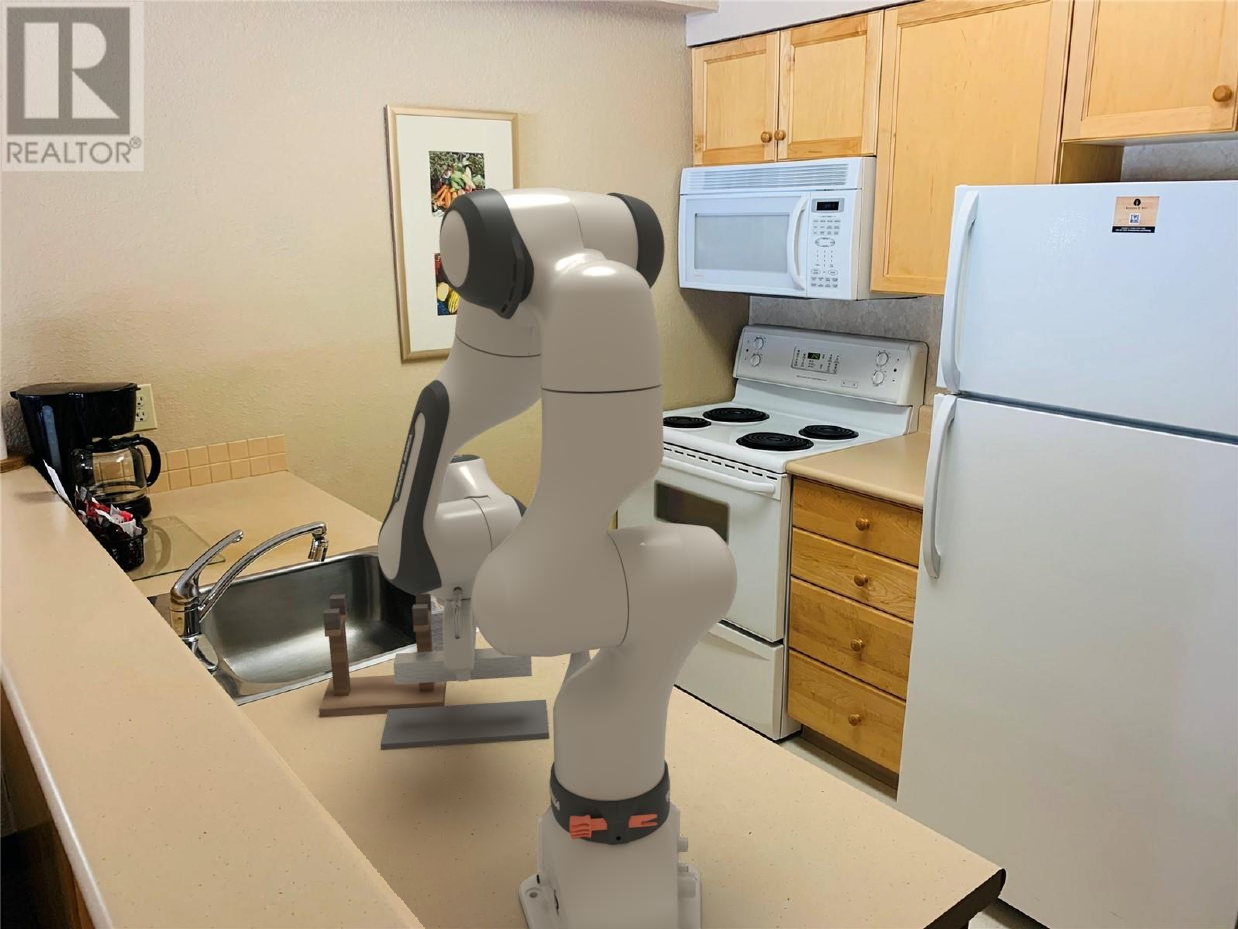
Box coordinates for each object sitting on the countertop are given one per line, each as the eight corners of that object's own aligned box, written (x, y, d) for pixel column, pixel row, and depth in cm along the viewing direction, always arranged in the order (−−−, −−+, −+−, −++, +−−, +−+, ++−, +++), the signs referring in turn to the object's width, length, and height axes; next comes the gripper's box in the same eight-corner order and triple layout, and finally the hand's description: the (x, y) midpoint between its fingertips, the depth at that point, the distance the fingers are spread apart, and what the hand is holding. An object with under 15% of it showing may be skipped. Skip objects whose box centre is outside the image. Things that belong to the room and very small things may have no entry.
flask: (600, 718, 133) (599, 652, 130) (549, 713, 134) (547, 647, 131) (611, 693, 139) (610, 630, 137) (563, 688, 141) (561, 625, 138)
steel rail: (531, 676, 128) (531, 655, 127) (395, 684, 126) (393, 663, 125) (531, 665, 131) (530, 645, 130) (397, 673, 129) (396, 653, 128)
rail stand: (443, 709, 135) (437, 611, 131) (319, 717, 133) (309, 617, 129) (446, 679, 144) (441, 586, 140) (330, 686, 142) (322, 592, 138)
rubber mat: (549, 738, 128) (548, 732, 127) (380, 749, 125) (380, 744, 125) (546, 704, 136) (546, 699, 136) (388, 714, 134) (388, 709, 134)
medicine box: (460, 660, 150) (457, 608, 148) (431, 665, 148) (428, 613, 146) (449, 639, 157) (446, 590, 155) (422, 644, 155) (419, 594, 153)
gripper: (481, 605, 115) (486, 708, 119) (484, 547, 135) (488, 637, 138) (428, 608, 115) (435, 711, 118) (439, 549, 134) (444, 639, 138)
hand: (464, 671), depth 128 cm, fingers closed on steel rail, 3 cm apart
